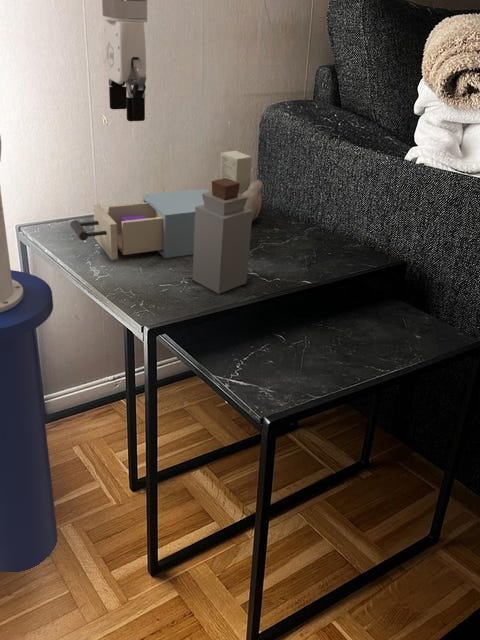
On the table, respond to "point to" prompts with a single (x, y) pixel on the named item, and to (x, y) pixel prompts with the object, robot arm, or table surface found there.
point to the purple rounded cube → (132, 218)
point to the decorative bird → (254, 198)
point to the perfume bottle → (222, 237)
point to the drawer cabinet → (177, 219)
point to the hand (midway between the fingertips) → (126, 114)
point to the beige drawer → (124, 229)
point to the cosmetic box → (236, 168)
